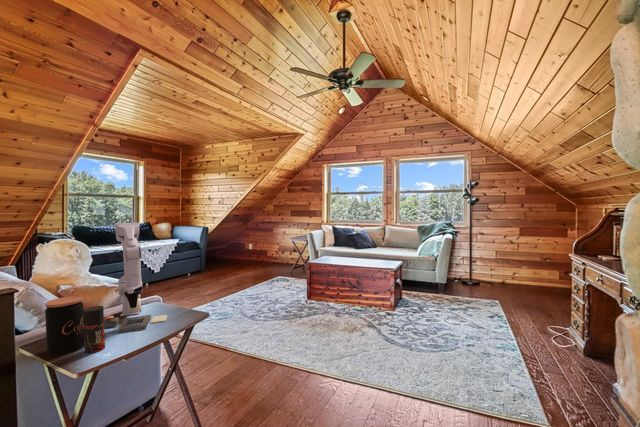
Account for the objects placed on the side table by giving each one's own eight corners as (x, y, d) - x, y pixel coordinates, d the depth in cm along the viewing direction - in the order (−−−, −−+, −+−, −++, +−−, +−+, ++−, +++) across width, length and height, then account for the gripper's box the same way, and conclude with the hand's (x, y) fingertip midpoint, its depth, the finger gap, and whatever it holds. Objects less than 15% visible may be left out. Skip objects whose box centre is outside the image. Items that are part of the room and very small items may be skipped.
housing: (125, 321, 138) (125, 318, 138) (150, 317, 142) (150, 314, 142) (117, 333, 125) (117, 329, 125) (145, 328, 129) (145, 325, 129)
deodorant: (94, 354, 107) (92, 311, 107) (80, 352, 108) (78, 310, 108) (109, 346, 113) (107, 306, 113) (95, 345, 114) (94, 305, 114)
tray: (153, 317, 142) (153, 316, 142) (167, 315, 144) (167, 314, 144) (150, 323, 135) (150, 322, 135) (165, 321, 137) (165, 320, 137)
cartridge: (129, 310, 135) (129, 294, 135) (142, 309, 136) (141, 293, 136) (127, 314, 130) (126, 297, 130) (140, 312, 132) (139, 296, 132)
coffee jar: (64, 357, 106) (62, 305, 105) (38, 355, 107) (36, 304, 107) (92, 343, 116) (90, 296, 116) (68, 341, 118) (66, 295, 118)
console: (103, 324, 135) (102, 319, 135) (119, 322, 137) (118, 317, 137) (99, 328, 130) (99, 323, 130) (116, 326, 132) (115, 320, 132)
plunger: (106, 324, 134) (105, 316, 134) (114, 322, 136) (114, 315, 135) (104, 326, 131) (103, 318, 131) (112, 325, 133) (112, 317, 132)
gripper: (126, 272, 138) (127, 302, 139) (118, 279, 125) (119, 312, 125) (144, 270, 141) (145, 300, 141) (138, 277, 127) (139, 309, 128)
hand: (134, 305), depth 133 cm, fingers closed on cartridge, 5 cm apart
